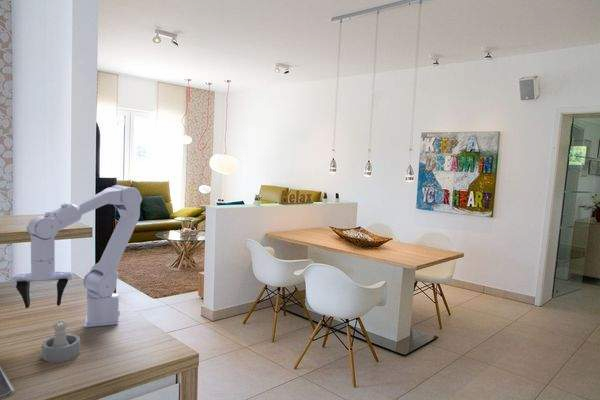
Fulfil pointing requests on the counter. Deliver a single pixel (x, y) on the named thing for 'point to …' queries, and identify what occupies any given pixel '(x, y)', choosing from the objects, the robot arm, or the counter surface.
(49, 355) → the grey faceted bowl
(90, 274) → the robot arm
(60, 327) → the rook chess piece
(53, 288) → the counter surface
